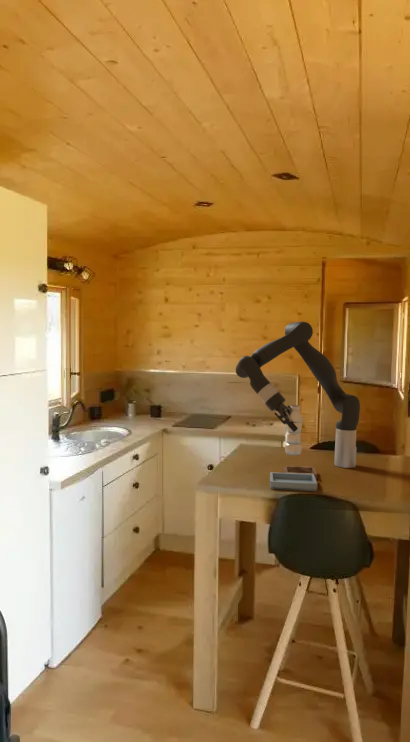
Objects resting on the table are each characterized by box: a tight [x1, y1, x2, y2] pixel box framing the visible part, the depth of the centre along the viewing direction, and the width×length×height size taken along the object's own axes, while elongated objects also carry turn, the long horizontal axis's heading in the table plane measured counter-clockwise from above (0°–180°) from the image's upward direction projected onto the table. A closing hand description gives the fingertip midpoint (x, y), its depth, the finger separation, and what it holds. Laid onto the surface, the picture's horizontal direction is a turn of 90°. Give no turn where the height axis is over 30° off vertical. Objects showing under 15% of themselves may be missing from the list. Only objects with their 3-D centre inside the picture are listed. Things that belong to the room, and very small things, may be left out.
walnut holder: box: [283, 465, 318, 481], centre depth 241 cm, size 13×12×2 cm
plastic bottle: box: [284, 404, 304, 456], centre depth 225 cm, size 6×7×20 cm
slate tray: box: [269, 471, 318, 492], centre depth 227 cm, size 18×14×3 cm
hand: (298, 428), depth 224 cm, fingers closed on plastic bottle, 6 cm apart
